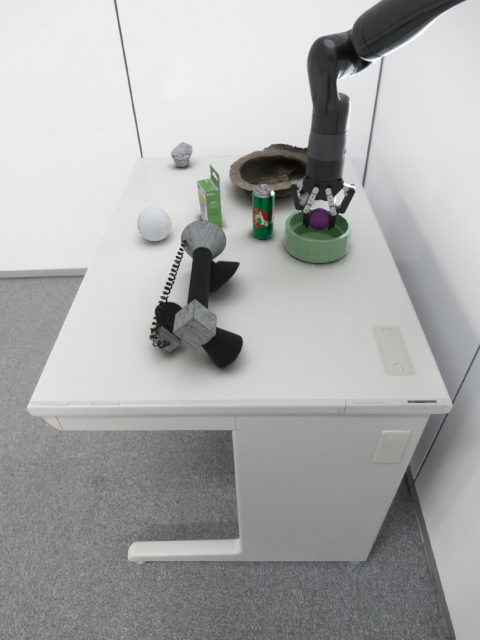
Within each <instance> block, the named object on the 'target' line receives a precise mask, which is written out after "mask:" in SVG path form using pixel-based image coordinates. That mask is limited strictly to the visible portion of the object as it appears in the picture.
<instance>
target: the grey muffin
mask: <svg viewBox="0 0 480 640" xmlns="http://www.w3.org/2000/svg"><path fill="white" fill-rule="evenodd" d="M192 154H193V145H191V144H189V143H187V142H186V141H182V142H179V144H178V145H176V146H175V147H174V148H173V149H172V150H171V152H170V156H171V158H172V159H173V163H174V164H175V166H177V167H179V168H185V167H187V166H188V165H189V163H190V160H191V157H192Z"/></svg>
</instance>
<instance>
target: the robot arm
mask: <svg viewBox="0 0 480 640" xmlns="http://www.w3.org/2000/svg"><path fill="white" fill-rule="evenodd" d="M468 1H469V0H380V1H378V2H377V3H375V4H374V5H372V6H371V7H370V8H368V9H366V10H365V11H364V12H363V13H361V14H360V15H359V16H358V17H357V18H356V20H355V21H354V23H353V25H352V27H351V28H350V29H348V30H346V31H341V32H337V33H336V32H335V33H331V34H326V35H322V36H320V37H318V38H316V39H315V40H314V41H313V43H312V44H311V46H310V48H309V49H308V53H307V57H306V71H307V72H306V74H307V79H308V85H309V92H310V98H311V104H312V110H311V119H310V120H311V122H310V130H309V135H308V141H307V146H306V148H307V164H306V175H305V177H304V179H303V180H302V181H296V180H293V181H292V182H291V186H290V189H291V193H292V194H291V197H292V201H293V205H294V209H295V210H296V211H298V210H301V211H302V212H303V225H305V228H308V227H309V216H310V208H312V206H313V204H314V202H315V201H324V202H327V204H328V207H329V210H330V217H329V225H328V230H331V228H334V226H335V221H336V215H337V214H340V213H341V214H343V215H344V214H346V212H347V210H348V207H349V206H350V205H351V202H352V200H353V198H354V196H355V194H356V184H354V183H351V184H348V183H346V182H345V181H344V178H343V175H344V170H345V169H344V168H345V162H346V155H347V150H348V149H347V147H348V138H349V137H348V136H349V135H348V134H349V133H348V132H349V124H350V118H351V117H350V116H351V108H352V102H351V101H352V100H351V98H350V96H349V95H347V94H346V93H343V92H340V91H339V90H338V81H339V80H344V79H348V78H351V77H354V76H356V75H358V74H360V73H362V72H363V71H365V70H367V69H368V68H369V67H370V66H372V65H373V64H374V63H376V62H377V61H378V60H379V59H381V58H384V57H385V56H387V55H389V54H391V53H393V52H395V51H397V50H399V49H400V48H402V47H404V46H406V45H408V44H409V43H411V42H413V41H414V40H415V39H416V38H418V37H419V36H421V34H423V33H424V32H425V31H426V30H428V29H429V28H430V26H431V25H432V24H434V22H436V21H437V20H438V19H439V18H440V17H441V16H442V15H444V14H445V13H447V12H449V11H450V10H452V9H454V8H456V7H457V6H460V5H461V4H464V3H465V2H468ZM302 186H303V187H304V188H305V190H306V191H307V192H306V193H307V194H308V195H307V198H306V201H305V202H303V201H302V196H301V193H300V191H301V187H302ZM342 190H343V195H344V197H343V199H342V201H341V203H340V204H338V205H337V199H336V196H337V195H338V194H340V192H341V191H342Z"/></svg>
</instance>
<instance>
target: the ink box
mask: <svg viewBox="0 0 480 640" xmlns="http://www.w3.org/2000/svg"><path fill="white" fill-rule="evenodd" d="M209 169H210V171H209V172H210V177H209V178H204V179H199V180H196V184H197V194H198V203H199V212H200V218H201V220H206V221H210V222H213V223H215V224H217V225H218V226H219V227H220V228H221V227H223V216H222V215H223V214H222V213H223V212H222V197H221V182H220V181H221V180H220V179H221V177H220V174H219V173H218V172H217V170H216V169H215V168H214V167H213V166H212V164H211V163H209Z"/></svg>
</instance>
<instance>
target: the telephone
mask: <svg viewBox="0 0 480 640" xmlns="http://www.w3.org/2000/svg"><path fill="white" fill-rule="evenodd" d="M226 245H227V236H226V233H225V232H224V230H223V229H222V227H221V226H220V227H219V226H218V225H217V224H215V223H213V222H210V221H206V220H203V219H201V220H200V219H199V220H195V221H192V222H190V223H188V224H187V225H186V226H185V227H184V228H183V230H182V232H181V235H180V247H179V248H178V250H179V251H177V252H176V253H177V255H175V259H174V260H173V262H174V263H173V264H172V265H171V266H172V268H170V273H168V275H169V276H171V277H167V280H168V281H166V282H165V285H166V286H163V289H164V290H163V291H162V294H163V295H160V296H159V297H160V299H161V300H158V304H157V305H156V306H155V308H154V316H153V317H152V319H153V320H155V321H152V322H151V325H152V326H155V327H150V329H149V330H150V334H149V340H150V341H151V342H152V343H151V344H152V346H153V347H155V348H158V349H160V350H162V349H164V350H165V351H166V352H168V353H169V354H170V353H171V352H173V351H174V350H175V349H177V348H178V347H180V346H181V345H182V341H183V342H184V343H186V344H187V345H189V346H190V347H191V348H193V349H195V350H197V349H198V348H199V347H201V348H202V349H203V350H204V352H205V353H206V354H207V356H208V357H209V359H210V360H211V361H212V363H213V364H214V365H215V366H216V368H218V369H225V368H227V367H229V366H230V365H231V364H233V363H234V362H235V360H237V358H238V357H239V355H240V353H241V352H242V350H243V345H244V340H243V337H242V336H241V335H240V334H237V333H235V332H232V331H229V330H227V329H223V328H221V327H218V326H217V319H218V318H217V315H216V314H215V313H214V312H212V311H211V310H210V309H209V300H210V299H209V298H210V294H212V293H214V292H216V291H218V290H219V289H220V288H222V287H223V286H225V284H227V283H228V281H230V279H232V277H233V276H234V275H235V274H236V273H237V271H238V270H239V267H240V265H241V262H239V261H230V260H218V261H214V260H215V259H216V258H218V257H219V256H220V255H221V254H222V253H223V251H225V249H226V247H227V246H226ZM184 253H186V254H187V255H188V256H189V257H190V258H191V259H192V262H191V269H190V278H189V286H188V291H187V292H188V293H187V302H186V305H184V306H183V307H182V306H181V305H180V304H179V303H176V302H174V301H168V299H169V297H170V296H169V295H170V294H171V292H172V291H171V290H172V289H173V285H174V284H175V280H176V278H177V277H176V276H177V275H178V272H179V269H180V268H179V267H180V266H181V263H182V260H183V258H184ZM172 277H173V278H172ZM167 291H168V292H167Z"/></svg>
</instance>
